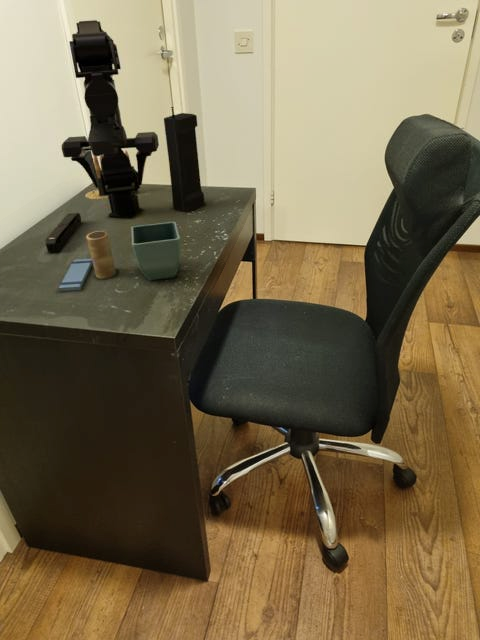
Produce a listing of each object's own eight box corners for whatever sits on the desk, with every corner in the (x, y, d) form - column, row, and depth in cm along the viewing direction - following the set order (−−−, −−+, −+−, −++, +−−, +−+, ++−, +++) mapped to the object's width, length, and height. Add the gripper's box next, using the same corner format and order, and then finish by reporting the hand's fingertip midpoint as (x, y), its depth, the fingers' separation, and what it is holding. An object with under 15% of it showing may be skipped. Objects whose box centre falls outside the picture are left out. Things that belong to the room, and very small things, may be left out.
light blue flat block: (59, 291, 90) (58, 287, 90) (74, 263, 100) (73, 259, 100) (80, 290, 90) (79, 286, 90) (93, 261, 100) (92, 258, 100)
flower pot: (185, 281, 91) (180, 238, 86) (140, 287, 90) (131, 244, 85) (181, 261, 98) (175, 220, 93) (138, 267, 97) (130, 226, 92)
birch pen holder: (93, 279, 94) (83, 239, 89) (98, 269, 97) (89, 231, 92) (113, 278, 93) (104, 238, 89) (117, 268, 97) (109, 230, 92)
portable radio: (190, 199, 129) (180, 101, 115) (207, 203, 126) (198, 102, 112) (171, 208, 124) (157, 106, 110) (188, 212, 121) (176, 108, 107)
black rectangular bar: (72, 222, 120) (69, 211, 118) (82, 222, 120) (79, 210, 118) (47, 253, 105) (43, 241, 103) (58, 252, 105) (55, 240, 103)
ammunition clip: (99, 195, 136) (90, 153, 129) (100, 193, 137) (91, 151, 131) (136, 193, 136) (128, 150, 129) (137, 191, 138) (129, 149, 131)
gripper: (43, 118, 85) (65, 201, 94) (146, 112, 85) (159, 195, 94) (60, 107, 94) (79, 184, 103) (153, 101, 95) (163, 178, 103)
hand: (119, 186), depth 100 cm, fingers open, 9 cm apart
